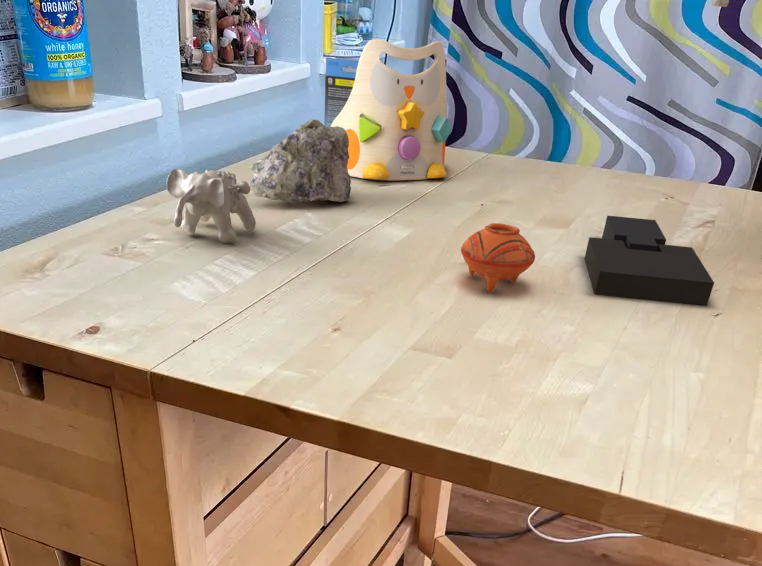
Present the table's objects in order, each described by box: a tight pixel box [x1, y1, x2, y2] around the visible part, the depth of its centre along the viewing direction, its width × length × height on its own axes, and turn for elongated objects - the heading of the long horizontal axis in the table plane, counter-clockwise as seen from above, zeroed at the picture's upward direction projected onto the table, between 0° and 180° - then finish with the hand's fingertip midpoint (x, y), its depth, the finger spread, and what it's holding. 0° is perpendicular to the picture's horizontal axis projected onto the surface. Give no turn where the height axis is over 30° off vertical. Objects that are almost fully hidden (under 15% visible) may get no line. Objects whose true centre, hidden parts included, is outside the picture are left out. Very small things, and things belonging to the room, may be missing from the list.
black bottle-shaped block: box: [601, 215, 667, 251], centre depth 98 cm, size 6×11×3 cm, turn 172°
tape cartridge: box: [323, 57, 365, 127], centre depth 138 cm, size 9×4×12 cm, turn 74°
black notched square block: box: [584, 237, 715, 306], centre depth 91 cm, size 12×12×2 cm
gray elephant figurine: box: [166, 168, 257, 244], centre depth 92 cm, size 9×12×8 cm
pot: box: [460, 222, 536, 294], centre depth 87 cm, size 8×8×7 cm
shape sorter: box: [331, 38, 452, 182], centre depth 119 cm, size 20×10×18 cm, turn 111°
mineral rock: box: [249, 118, 352, 204], centre depth 107 cm, size 13×11×10 cm
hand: (760, 9), depth 93 cm, fingers open, 8 cm apart
